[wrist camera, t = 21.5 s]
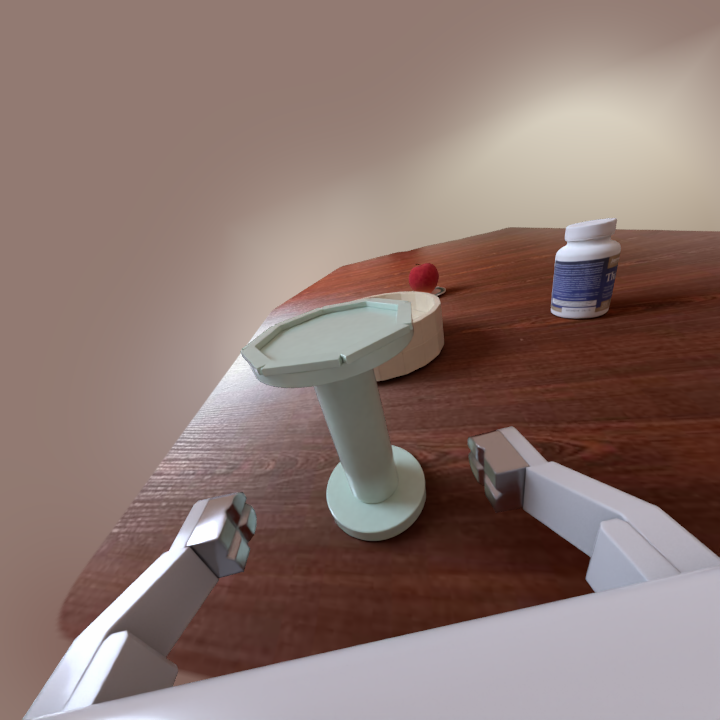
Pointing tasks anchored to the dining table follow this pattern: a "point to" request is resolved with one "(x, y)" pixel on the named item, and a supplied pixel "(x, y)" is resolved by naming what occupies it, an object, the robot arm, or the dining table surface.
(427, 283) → the apple
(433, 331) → the bowl
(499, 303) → the dining table surface
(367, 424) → the pedestal stand
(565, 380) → the dining table surface
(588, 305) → the pill bottle
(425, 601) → the dining table surface
